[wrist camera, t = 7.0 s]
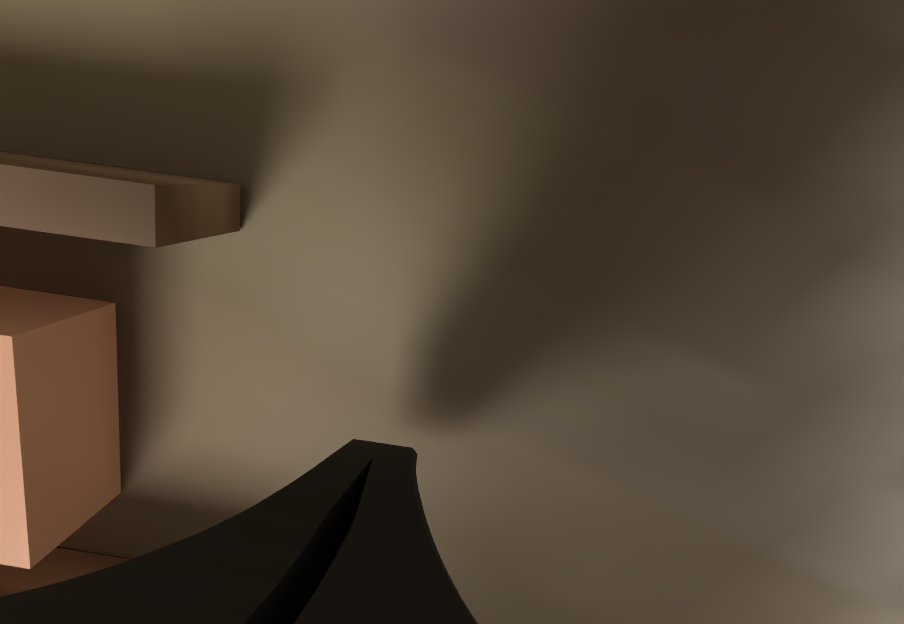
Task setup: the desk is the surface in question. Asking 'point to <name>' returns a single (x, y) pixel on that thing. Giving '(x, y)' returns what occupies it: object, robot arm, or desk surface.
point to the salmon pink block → (55, 419)
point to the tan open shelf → (110, 219)
